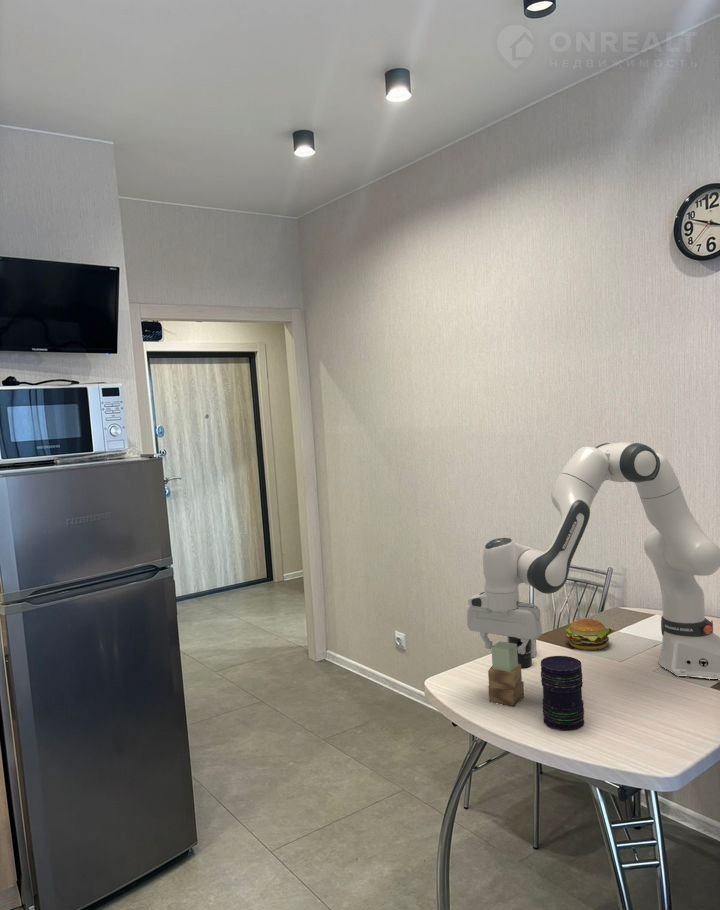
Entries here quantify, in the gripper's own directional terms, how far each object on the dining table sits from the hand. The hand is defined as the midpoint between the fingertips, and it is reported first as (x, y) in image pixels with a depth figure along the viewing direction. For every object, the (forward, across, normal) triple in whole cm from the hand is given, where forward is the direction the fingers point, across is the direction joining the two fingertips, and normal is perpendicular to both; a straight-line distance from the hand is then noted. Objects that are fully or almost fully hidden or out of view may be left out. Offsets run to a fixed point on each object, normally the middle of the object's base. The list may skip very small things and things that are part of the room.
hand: (505, 650), depth 186 cm
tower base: (+14, 0, 0) cm, 14 cm away
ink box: (+14, +10, -33) cm, 37 cm away
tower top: (+9, 0, 0) cm, 9 cm away
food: (+14, -5, -50) cm, 52 cm away
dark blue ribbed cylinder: (+14, -17, +6) cm, 23 cm away
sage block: (+5, 0, 0) cm, 5 cm away
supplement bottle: (+14, +7, -25) cm, 29 cm away
